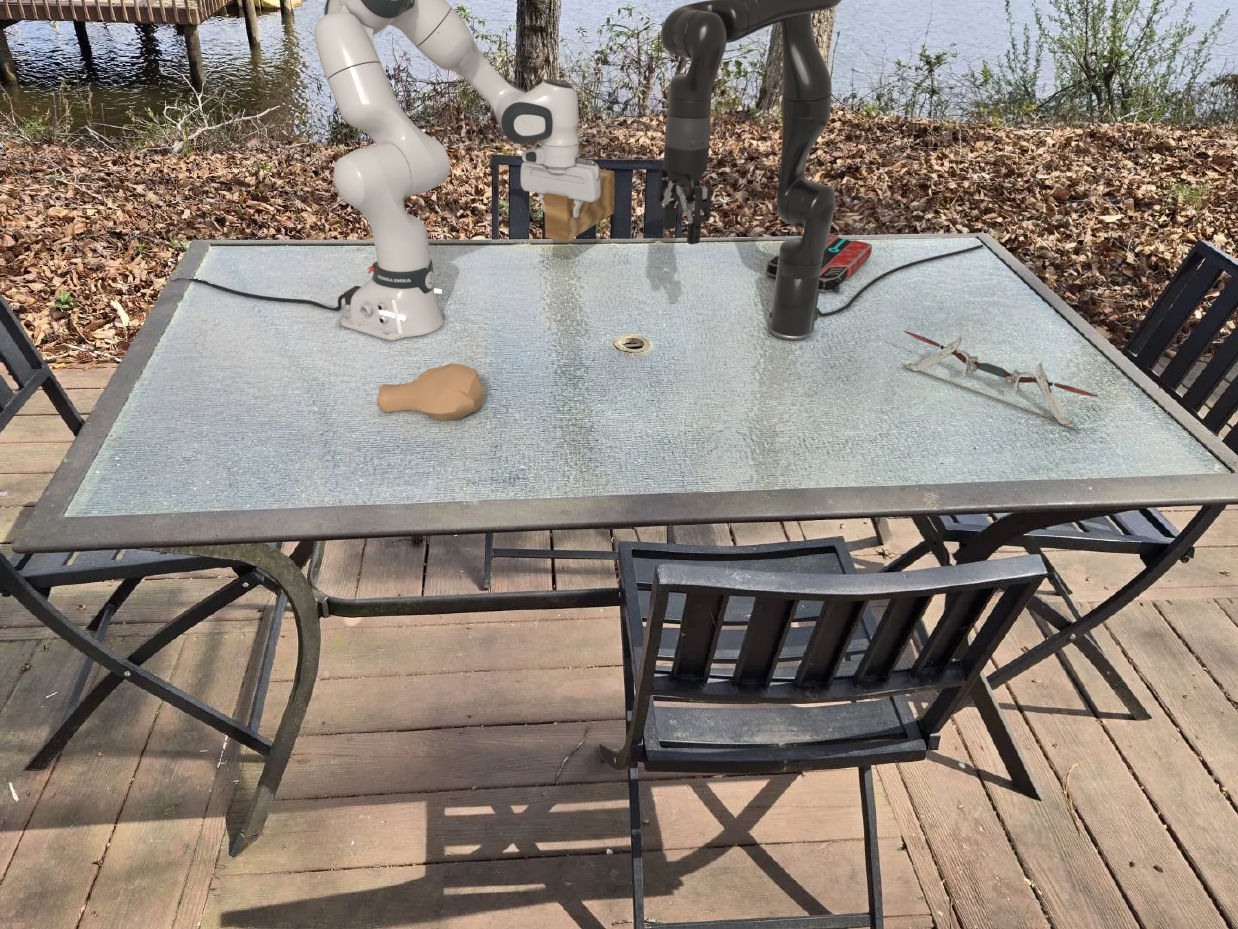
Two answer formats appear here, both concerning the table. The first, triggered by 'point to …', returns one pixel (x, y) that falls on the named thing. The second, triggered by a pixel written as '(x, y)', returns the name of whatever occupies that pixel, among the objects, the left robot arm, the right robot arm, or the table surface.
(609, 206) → the box
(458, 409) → the squash
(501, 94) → the left robot arm
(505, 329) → the table surface
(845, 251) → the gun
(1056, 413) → the bow
